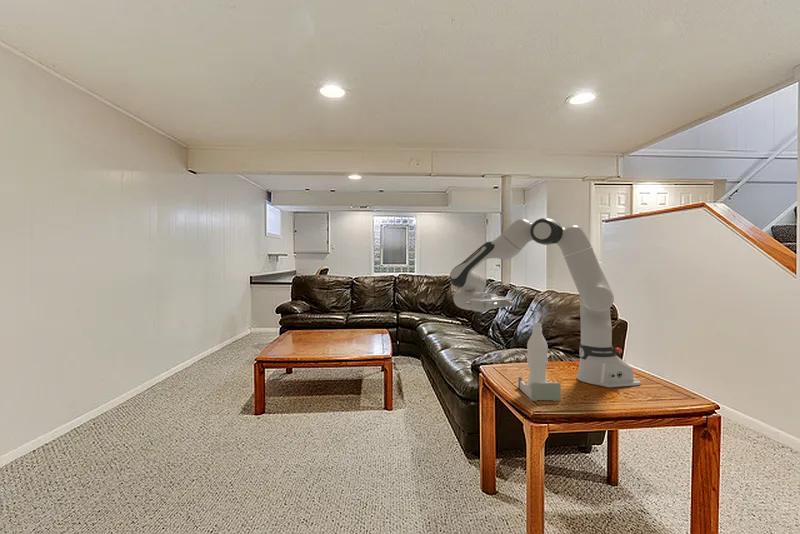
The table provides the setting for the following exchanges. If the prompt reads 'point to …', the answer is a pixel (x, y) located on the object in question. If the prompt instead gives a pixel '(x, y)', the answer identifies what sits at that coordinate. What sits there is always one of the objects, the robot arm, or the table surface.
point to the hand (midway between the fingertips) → (503, 304)
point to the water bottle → (537, 356)
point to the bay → (542, 390)
